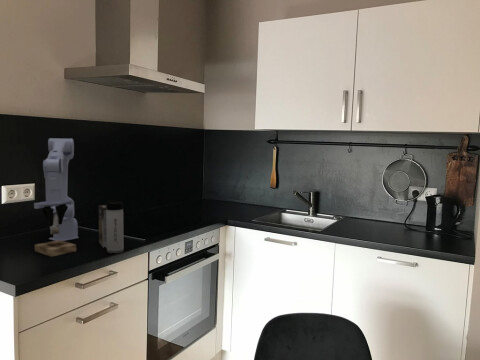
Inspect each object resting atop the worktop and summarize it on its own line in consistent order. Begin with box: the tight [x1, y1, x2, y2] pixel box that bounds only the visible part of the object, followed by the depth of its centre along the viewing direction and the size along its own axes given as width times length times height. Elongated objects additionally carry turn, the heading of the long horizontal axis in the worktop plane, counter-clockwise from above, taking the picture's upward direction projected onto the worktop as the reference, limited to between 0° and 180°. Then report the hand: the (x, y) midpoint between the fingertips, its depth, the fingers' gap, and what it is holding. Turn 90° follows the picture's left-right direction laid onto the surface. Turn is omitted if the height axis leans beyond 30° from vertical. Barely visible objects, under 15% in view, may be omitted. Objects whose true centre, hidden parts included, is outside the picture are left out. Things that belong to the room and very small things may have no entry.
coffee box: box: [98, 204, 107, 248], centre depth 164 cm, size 9×6×16 cm
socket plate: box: [34, 240, 77, 258], centre depth 154 cm, size 10×12×2 cm
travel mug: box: [105, 199, 125, 254], centre depth 154 cm, size 6×7×20 cm
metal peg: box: [49, 212, 60, 235], centre depth 153 cm, size 3×3×8 cm
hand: (54, 225), depth 153 cm, fingers closed on metal peg, 3 cm apart
